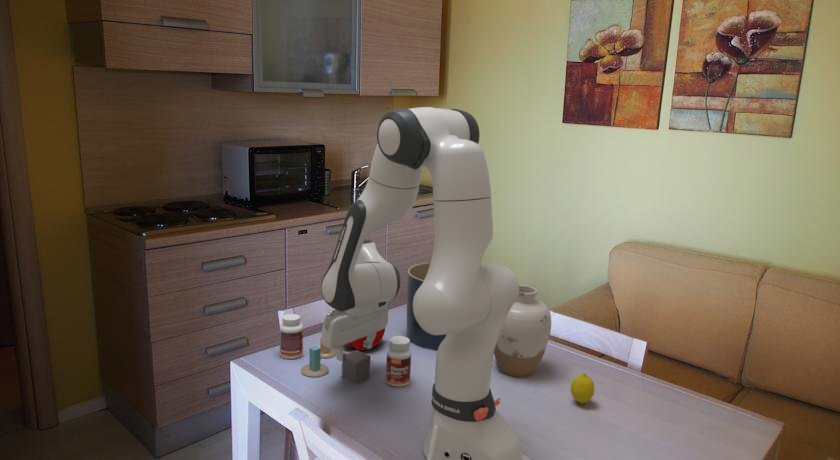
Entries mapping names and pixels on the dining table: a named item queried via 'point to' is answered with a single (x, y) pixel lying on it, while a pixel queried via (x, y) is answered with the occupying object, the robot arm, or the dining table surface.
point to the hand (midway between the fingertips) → (354, 353)
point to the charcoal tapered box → (356, 367)
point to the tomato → (360, 342)
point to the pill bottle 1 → (291, 337)
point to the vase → (523, 335)
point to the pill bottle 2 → (398, 361)
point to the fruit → (582, 388)
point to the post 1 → (314, 364)
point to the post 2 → (327, 352)
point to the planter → (413, 328)
